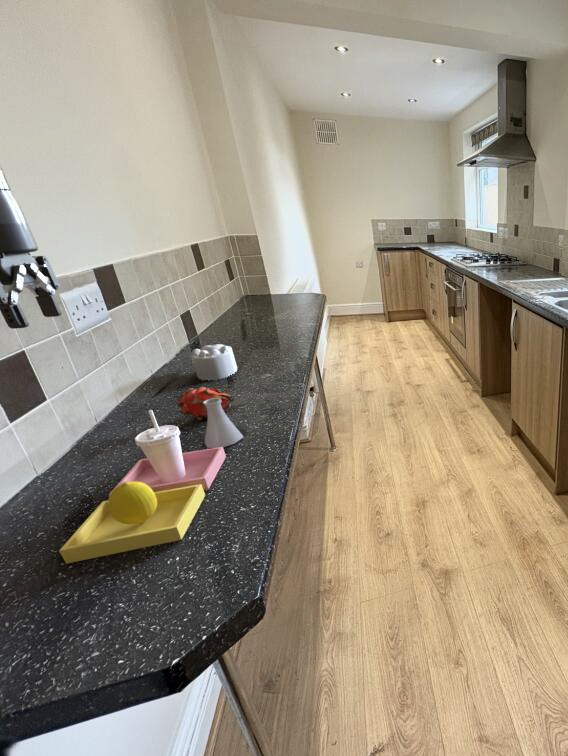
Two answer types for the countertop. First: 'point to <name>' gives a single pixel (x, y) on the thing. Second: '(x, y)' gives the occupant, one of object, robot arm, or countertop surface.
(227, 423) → the flask
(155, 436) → the smoothie
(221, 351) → the lumpy-topped squat cylinder
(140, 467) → the rose tray
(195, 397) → the dragon fruit
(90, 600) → the countertop surface
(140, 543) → the yellow tray
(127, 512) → the lemon
